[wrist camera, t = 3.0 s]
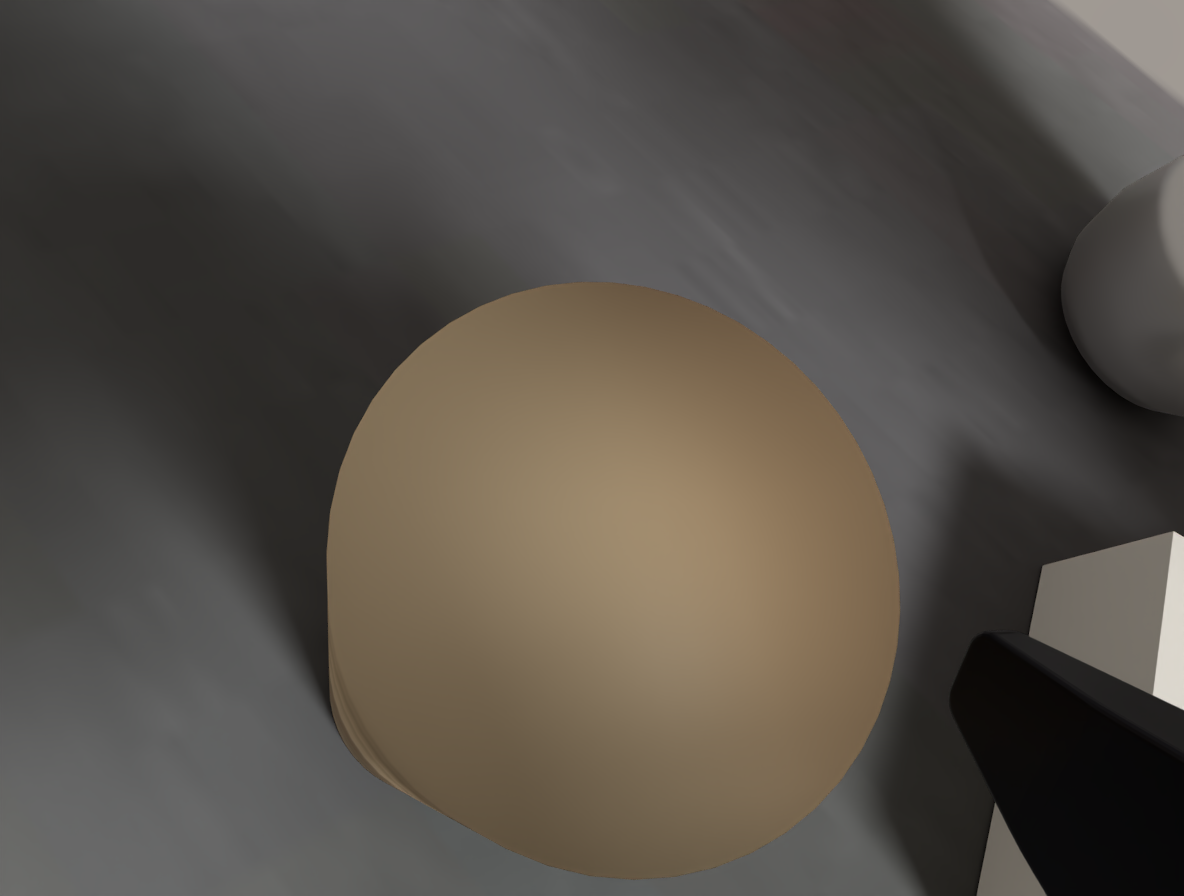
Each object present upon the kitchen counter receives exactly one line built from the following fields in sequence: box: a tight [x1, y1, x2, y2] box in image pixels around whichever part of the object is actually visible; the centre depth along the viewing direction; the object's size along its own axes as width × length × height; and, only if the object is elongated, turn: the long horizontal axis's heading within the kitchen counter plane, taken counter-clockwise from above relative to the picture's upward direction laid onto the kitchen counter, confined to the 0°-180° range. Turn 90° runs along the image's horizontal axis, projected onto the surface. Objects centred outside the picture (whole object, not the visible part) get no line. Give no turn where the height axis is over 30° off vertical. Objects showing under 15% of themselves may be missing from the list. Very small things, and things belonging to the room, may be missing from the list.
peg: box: [327, 282, 900, 880], centre depth 11 cm, size 4×4×11 cm
